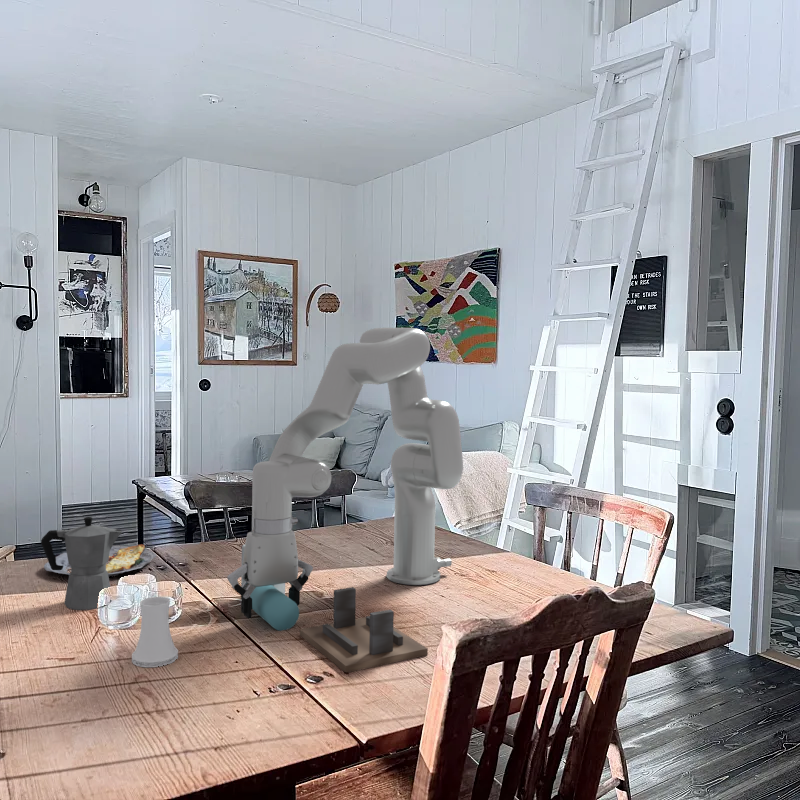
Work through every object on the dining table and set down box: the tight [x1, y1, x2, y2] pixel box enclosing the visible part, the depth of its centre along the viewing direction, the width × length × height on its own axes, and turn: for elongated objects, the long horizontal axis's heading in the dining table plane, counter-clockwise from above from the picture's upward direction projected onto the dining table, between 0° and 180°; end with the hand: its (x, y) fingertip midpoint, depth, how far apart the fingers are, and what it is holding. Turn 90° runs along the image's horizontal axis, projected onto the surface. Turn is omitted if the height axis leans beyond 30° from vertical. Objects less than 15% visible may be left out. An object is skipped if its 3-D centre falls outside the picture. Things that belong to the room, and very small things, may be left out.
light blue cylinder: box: [250, 585, 300, 632], centre depth 151 cm, size 11×6×6 cm, turn 31°
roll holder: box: [299, 586, 429, 673], centre depth 139 cm, size 16×19×8 cm
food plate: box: [43, 543, 157, 577], centre depth 186 cm, size 25×23×4 cm
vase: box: [131, 596, 179, 668], centre depth 131 cm, size 8×8×10 cm
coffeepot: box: [40, 516, 123, 611], centre depth 158 cm, size 15×9×18 cm, turn 110°
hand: (270, 612), depth 151 cm, fingers open, 9 cm apart
